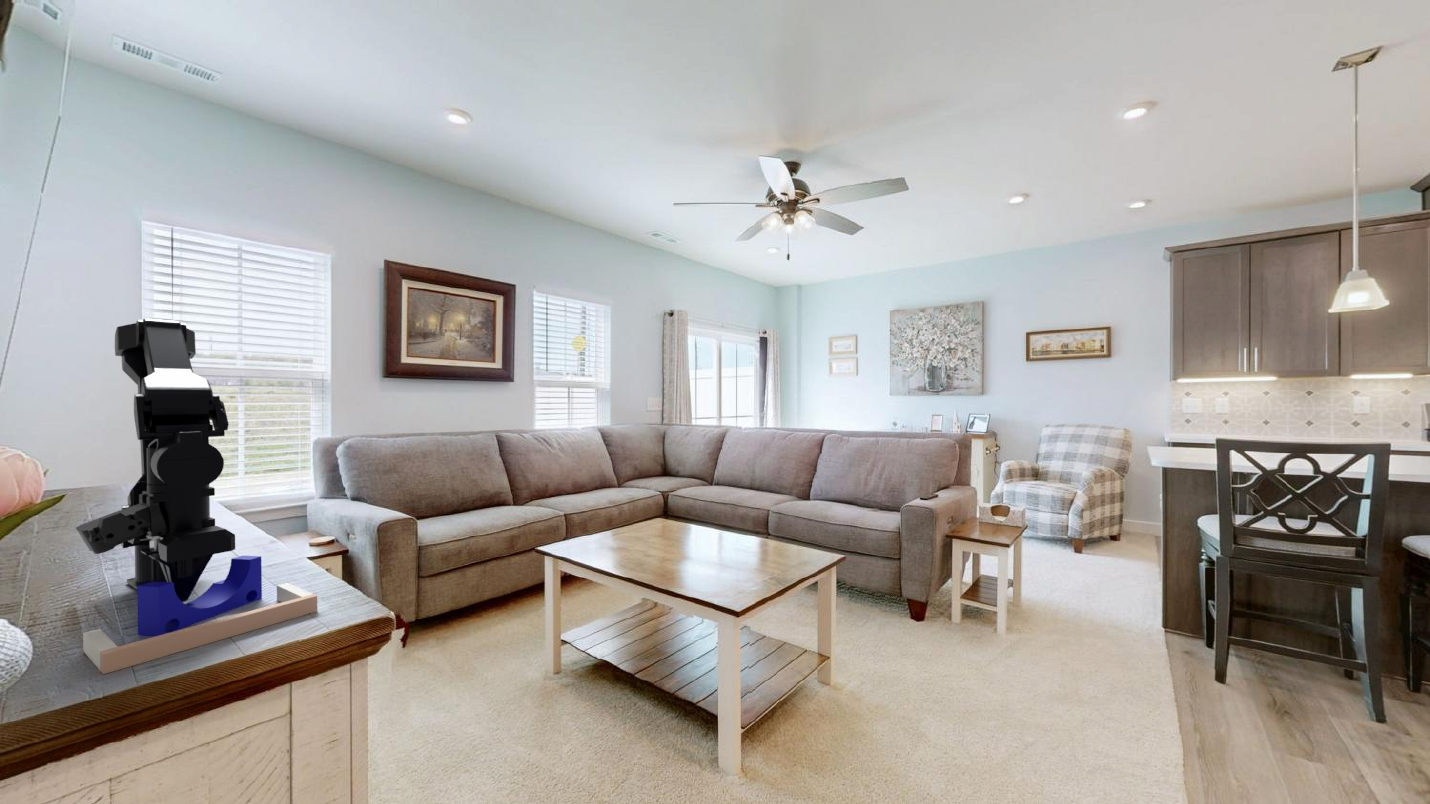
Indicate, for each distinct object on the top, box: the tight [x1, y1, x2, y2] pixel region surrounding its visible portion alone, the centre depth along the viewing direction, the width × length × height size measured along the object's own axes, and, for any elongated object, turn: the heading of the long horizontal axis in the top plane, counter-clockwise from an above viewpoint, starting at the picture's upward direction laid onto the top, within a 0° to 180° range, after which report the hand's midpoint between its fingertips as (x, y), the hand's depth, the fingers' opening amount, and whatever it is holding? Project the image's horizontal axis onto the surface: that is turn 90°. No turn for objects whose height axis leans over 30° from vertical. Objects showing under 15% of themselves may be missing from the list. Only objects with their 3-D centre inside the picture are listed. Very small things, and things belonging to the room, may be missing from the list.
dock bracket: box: [82, 582, 318, 675], centre depth 64 cm, size 9×18×2 cm, turn 148°
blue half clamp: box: [136, 555, 263, 638], centre depth 68 cm, size 12×4×6 cm, turn 172°
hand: (180, 601), depth 69 cm, fingers closed
